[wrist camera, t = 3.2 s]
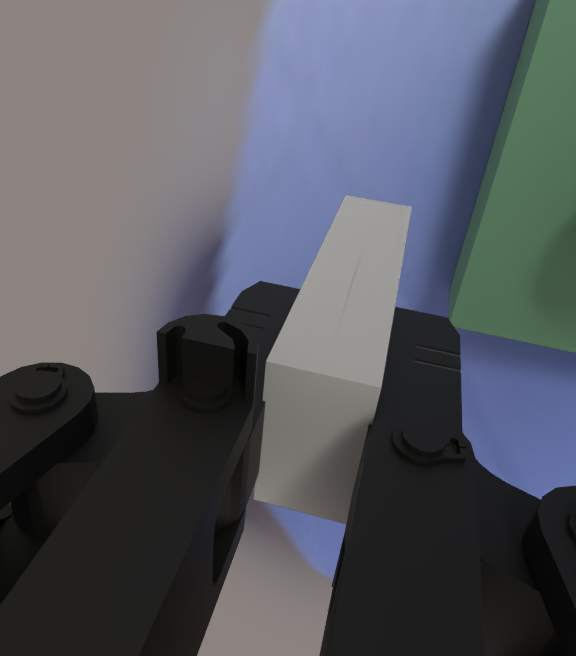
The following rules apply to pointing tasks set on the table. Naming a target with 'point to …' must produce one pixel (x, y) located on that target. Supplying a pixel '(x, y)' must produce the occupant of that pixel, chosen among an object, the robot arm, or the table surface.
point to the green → (528, 200)
